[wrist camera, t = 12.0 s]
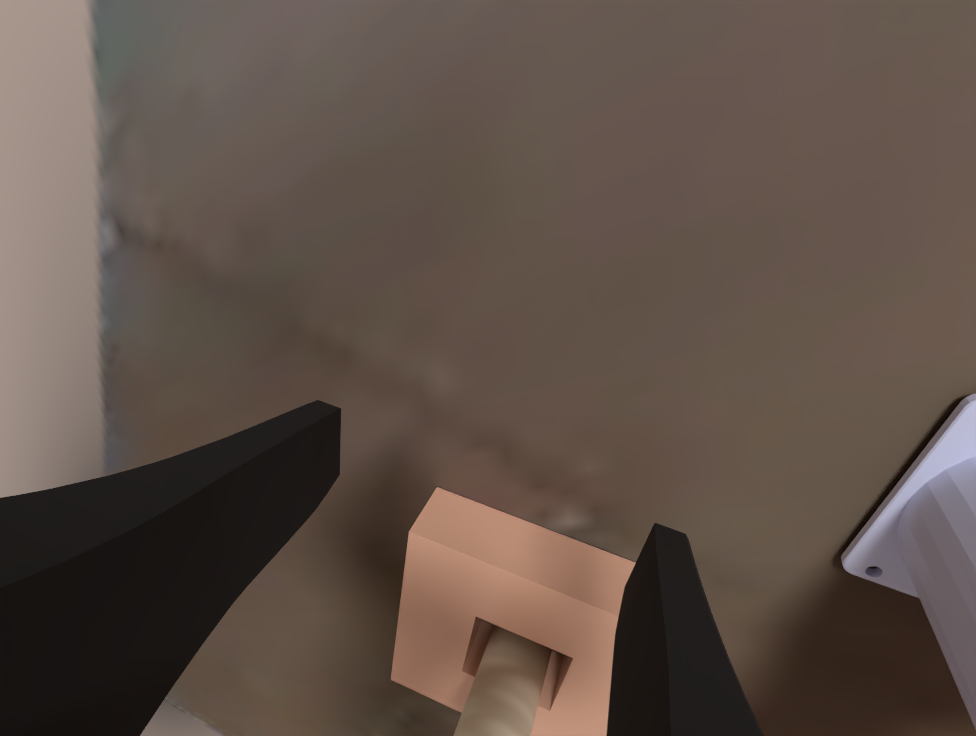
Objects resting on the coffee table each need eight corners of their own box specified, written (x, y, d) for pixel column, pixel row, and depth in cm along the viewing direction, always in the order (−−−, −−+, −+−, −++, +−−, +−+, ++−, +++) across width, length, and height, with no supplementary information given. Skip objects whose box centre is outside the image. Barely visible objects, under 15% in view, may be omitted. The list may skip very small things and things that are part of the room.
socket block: (689, 583, 23) (688, 644, 21) (611, 720, 29) (603, 779, 27) (437, 487, 25) (408, 531, 23) (414, 632, 32) (390, 679, 29)
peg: (558, 598, 26) (511, 774, 20) (560, 638, 28) (516, 815, 21) (500, 585, 27) (437, 749, 21) (505, 624, 29) (447, 790, 22)
